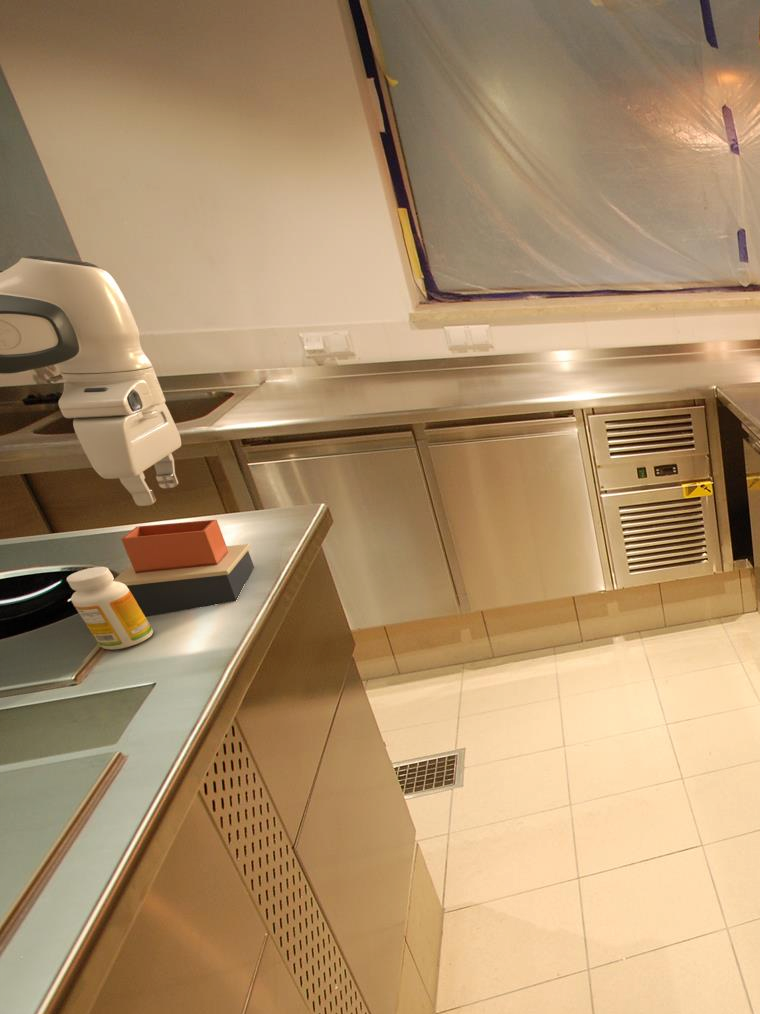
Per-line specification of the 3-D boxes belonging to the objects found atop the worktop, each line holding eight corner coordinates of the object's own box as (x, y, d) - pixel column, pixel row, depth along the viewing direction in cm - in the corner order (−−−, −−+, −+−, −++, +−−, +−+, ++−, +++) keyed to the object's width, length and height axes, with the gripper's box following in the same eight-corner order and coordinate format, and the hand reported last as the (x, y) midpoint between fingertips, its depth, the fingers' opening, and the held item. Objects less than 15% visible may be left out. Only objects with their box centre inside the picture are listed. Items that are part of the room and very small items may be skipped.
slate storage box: (127, 624, 114) (109, 583, 112) (157, 592, 124) (142, 554, 122) (241, 610, 119) (227, 570, 117) (262, 580, 130) (249, 543, 127)
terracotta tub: (135, 573, 115) (120, 538, 113) (150, 559, 120) (136, 526, 118) (217, 564, 119) (204, 531, 117) (228, 551, 124) (216, 519, 122)
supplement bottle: (152, 624, 113) (113, 560, 108) (156, 639, 109) (117, 573, 104) (99, 639, 110) (57, 573, 104) (102, 655, 106) (59, 587, 101)
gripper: (115, 382, 117) (155, 479, 122) (51, 406, 100) (100, 518, 106) (173, 379, 119) (209, 475, 125) (119, 403, 103) (164, 512, 108)
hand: (158, 495), depth 115 cm, fingers open, 8 cm apart
